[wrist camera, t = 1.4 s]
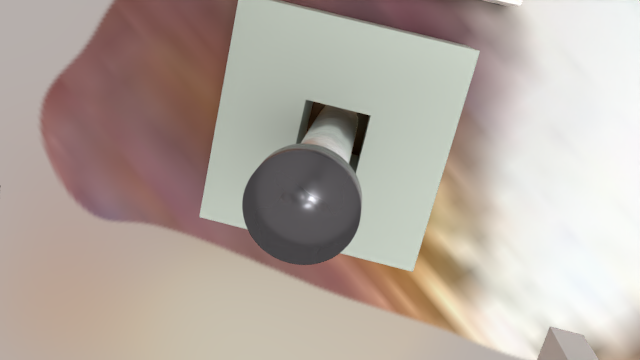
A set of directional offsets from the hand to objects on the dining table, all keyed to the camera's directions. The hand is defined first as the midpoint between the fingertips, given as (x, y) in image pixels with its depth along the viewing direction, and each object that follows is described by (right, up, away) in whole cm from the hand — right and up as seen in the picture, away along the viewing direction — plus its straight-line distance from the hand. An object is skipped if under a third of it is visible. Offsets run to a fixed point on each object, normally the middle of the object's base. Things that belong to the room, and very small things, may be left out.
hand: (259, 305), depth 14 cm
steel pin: (+2, +6, +21) cm, 23 cm away
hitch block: (+2, +6, +21) cm, 23 cm away
